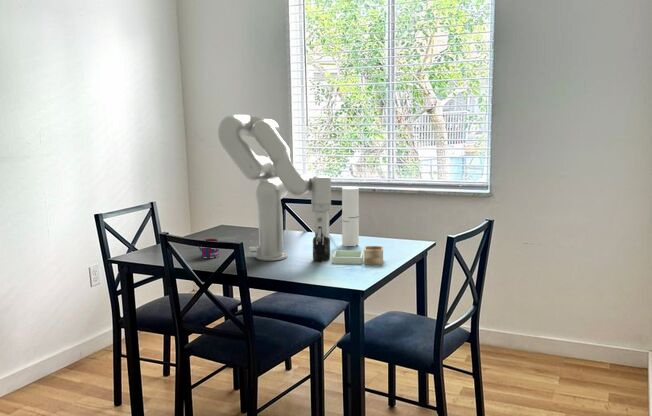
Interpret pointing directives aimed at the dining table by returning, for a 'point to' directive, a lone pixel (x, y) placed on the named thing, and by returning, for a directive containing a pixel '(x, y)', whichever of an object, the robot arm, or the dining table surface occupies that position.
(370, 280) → the dining table surface
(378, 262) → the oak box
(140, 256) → the dining table surface
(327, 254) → the supplement bottle
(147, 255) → the dining table surface
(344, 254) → the tray
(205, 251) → the mug
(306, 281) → the dining table surface
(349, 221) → the cylindrical container
